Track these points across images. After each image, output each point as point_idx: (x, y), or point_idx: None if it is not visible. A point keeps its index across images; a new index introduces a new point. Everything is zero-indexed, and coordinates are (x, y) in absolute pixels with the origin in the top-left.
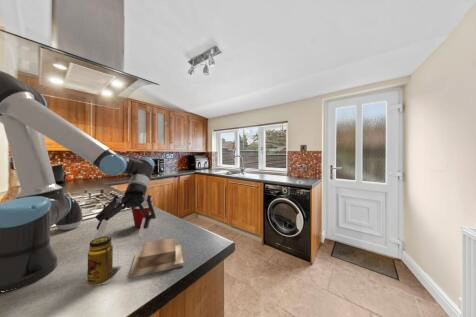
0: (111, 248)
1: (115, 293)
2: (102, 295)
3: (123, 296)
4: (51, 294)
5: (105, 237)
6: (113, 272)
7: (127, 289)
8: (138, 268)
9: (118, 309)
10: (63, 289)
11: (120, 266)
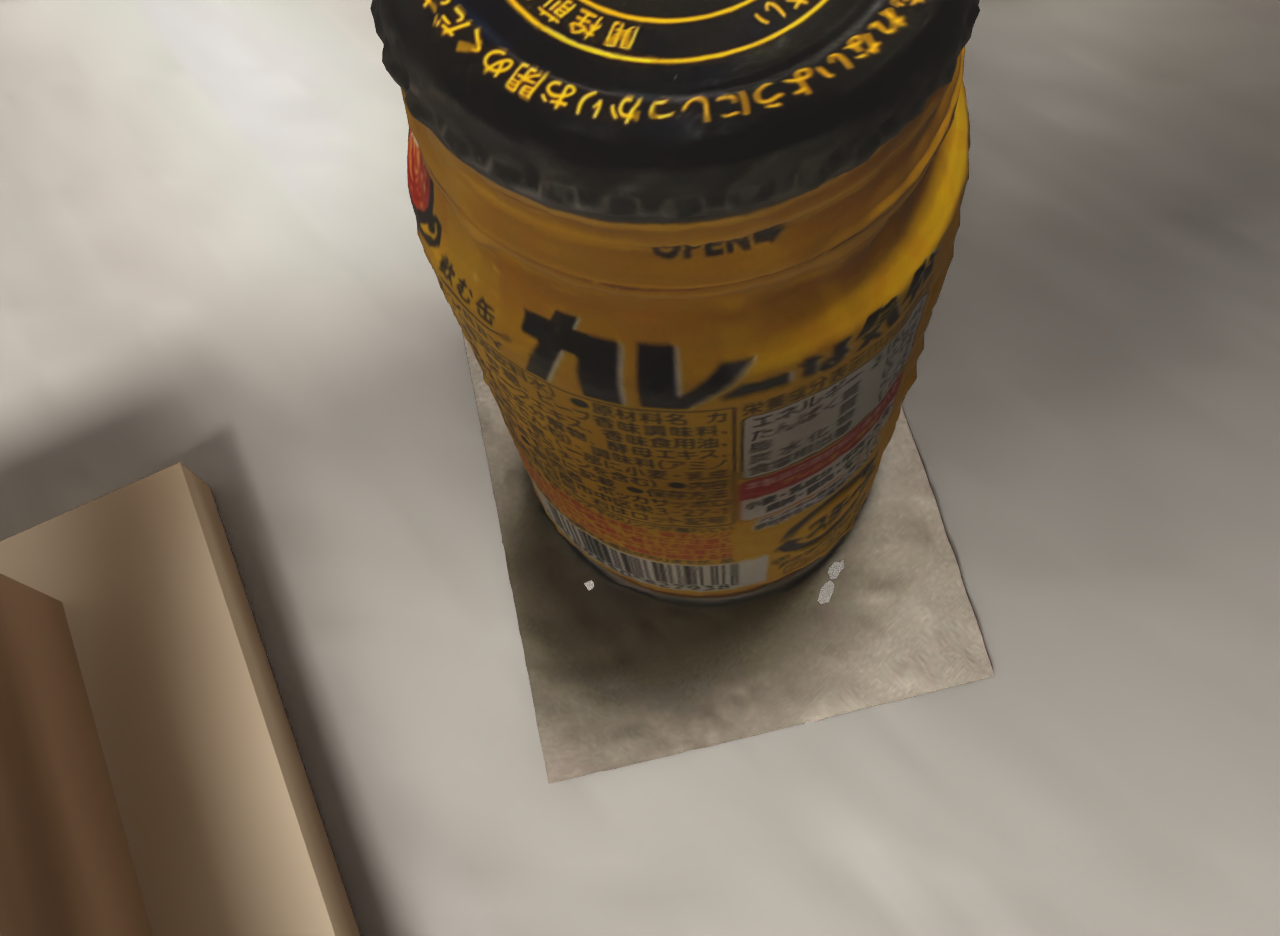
0: (412, 199)
1: (241, 198)
2: (391, 155)
3: (109, 168)
4: (1103, 103)
5: (652, 72)
6: (583, 594)
7: (117, 271)
8: (89, 615)
9: (70, 20)
10: (1042, 188)
11: (553, 749)
